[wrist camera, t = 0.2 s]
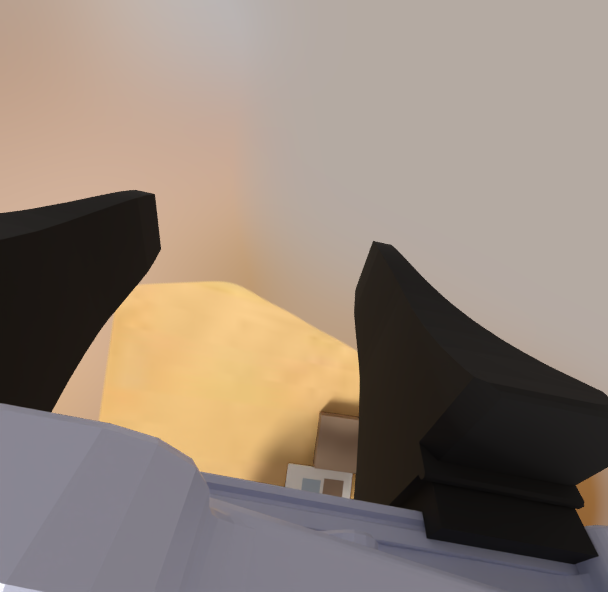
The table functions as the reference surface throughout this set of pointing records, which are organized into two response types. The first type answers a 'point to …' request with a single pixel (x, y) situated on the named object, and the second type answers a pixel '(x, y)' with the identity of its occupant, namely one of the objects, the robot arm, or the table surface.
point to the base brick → (336, 443)
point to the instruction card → (319, 480)
